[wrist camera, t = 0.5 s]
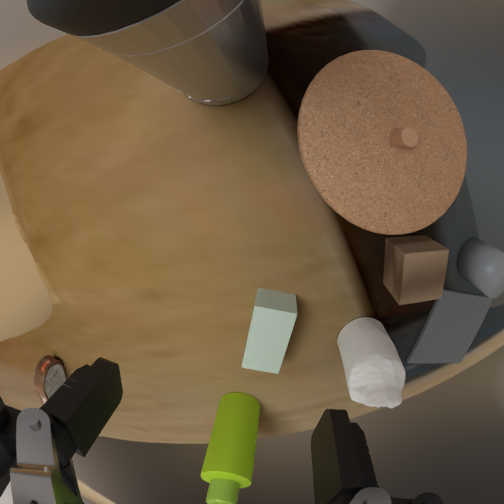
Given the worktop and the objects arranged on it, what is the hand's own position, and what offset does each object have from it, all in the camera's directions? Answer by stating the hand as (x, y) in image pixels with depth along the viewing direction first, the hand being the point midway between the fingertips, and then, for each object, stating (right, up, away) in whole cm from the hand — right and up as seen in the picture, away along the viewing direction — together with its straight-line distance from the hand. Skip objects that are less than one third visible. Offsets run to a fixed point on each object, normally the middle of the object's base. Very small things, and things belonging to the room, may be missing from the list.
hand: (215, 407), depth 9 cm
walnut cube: (+18, +5, +17) cm, 25 cm away
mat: (+28, -5, +19) cm, 34 cm away
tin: (-36, -19, +31) cm, 51 cm away
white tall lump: (+14, -4, +20) cm, 25 cm away
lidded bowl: (+11, +16, +14) cm, 24 cm away
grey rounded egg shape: (+28, +5, +16) cm, 32 cm away
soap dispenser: (0, -17, +26) cm, 31 cm away
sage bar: (+3, -2, +21) cm, 21 cm away
